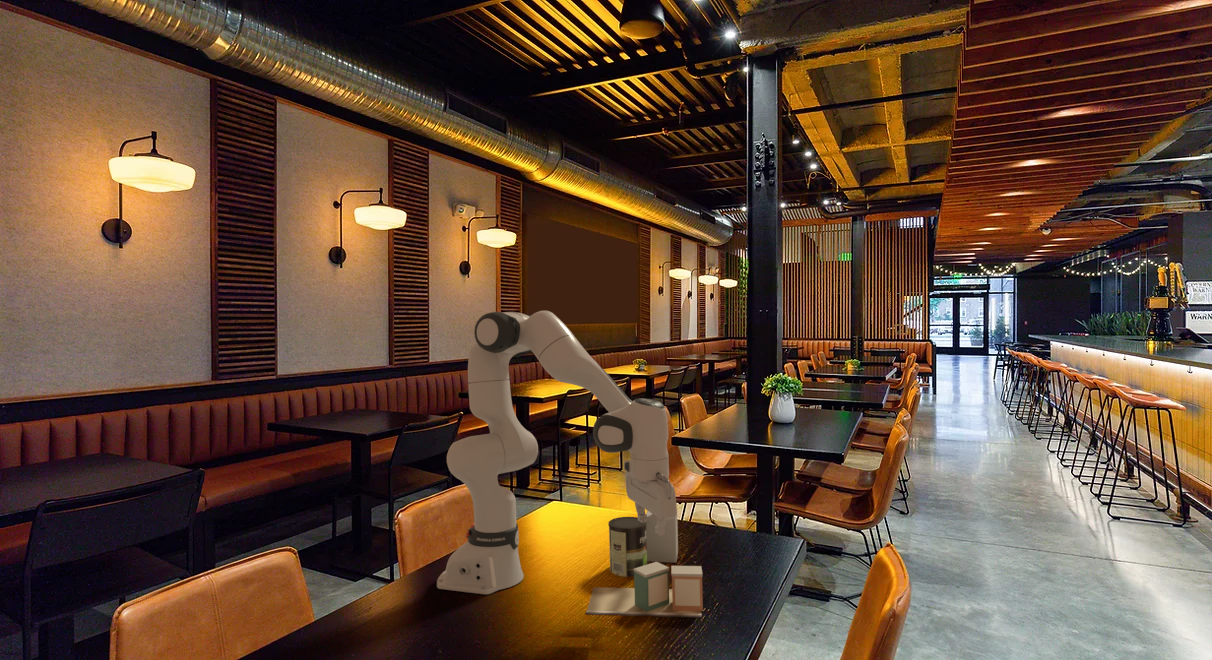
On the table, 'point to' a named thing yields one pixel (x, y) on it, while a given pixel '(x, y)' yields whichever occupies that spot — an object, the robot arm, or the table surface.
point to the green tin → (651, 586)
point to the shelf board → (629, 604)
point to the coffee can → (627, 545)
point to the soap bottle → (661, 541)
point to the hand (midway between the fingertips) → (650, 527)
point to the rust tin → (687, 588)
